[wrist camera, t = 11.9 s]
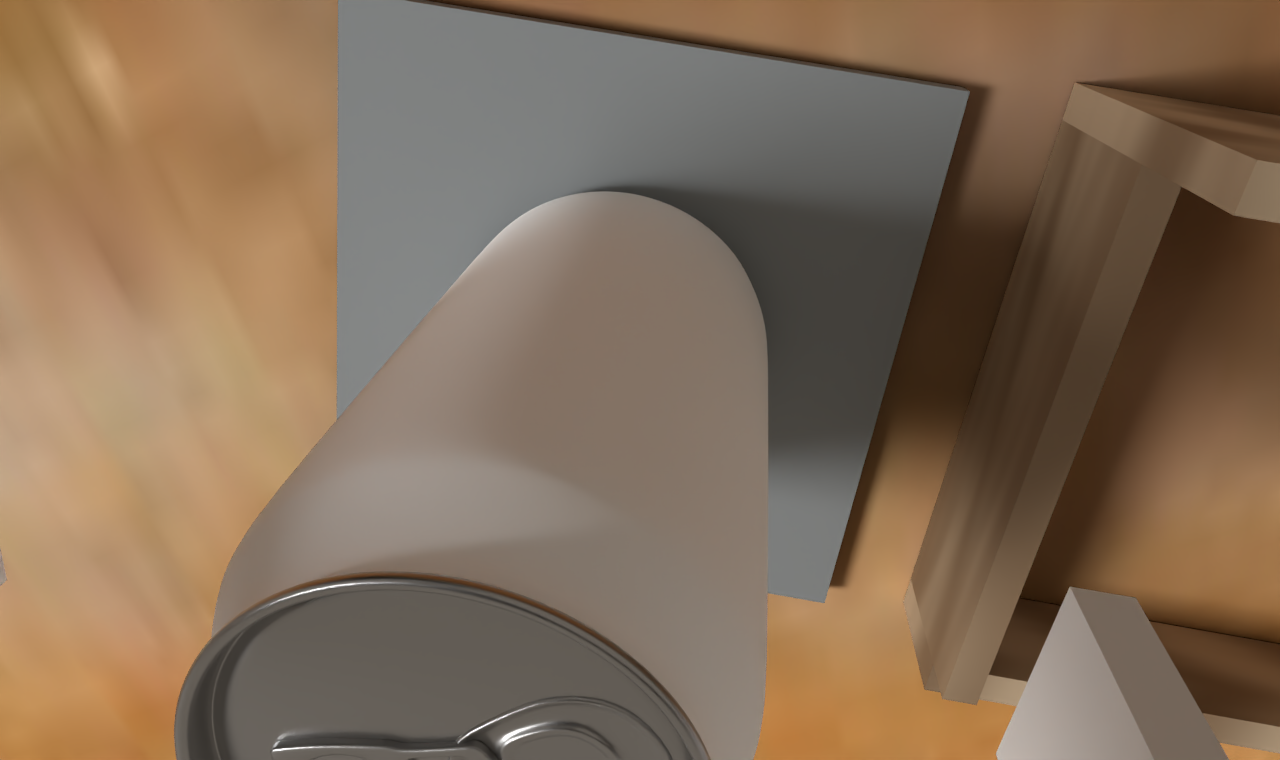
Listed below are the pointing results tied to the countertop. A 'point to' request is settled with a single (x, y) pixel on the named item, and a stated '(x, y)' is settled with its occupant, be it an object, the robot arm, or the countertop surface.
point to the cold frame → (1080, 397)
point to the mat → (662, 170)
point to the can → (521, 522)
